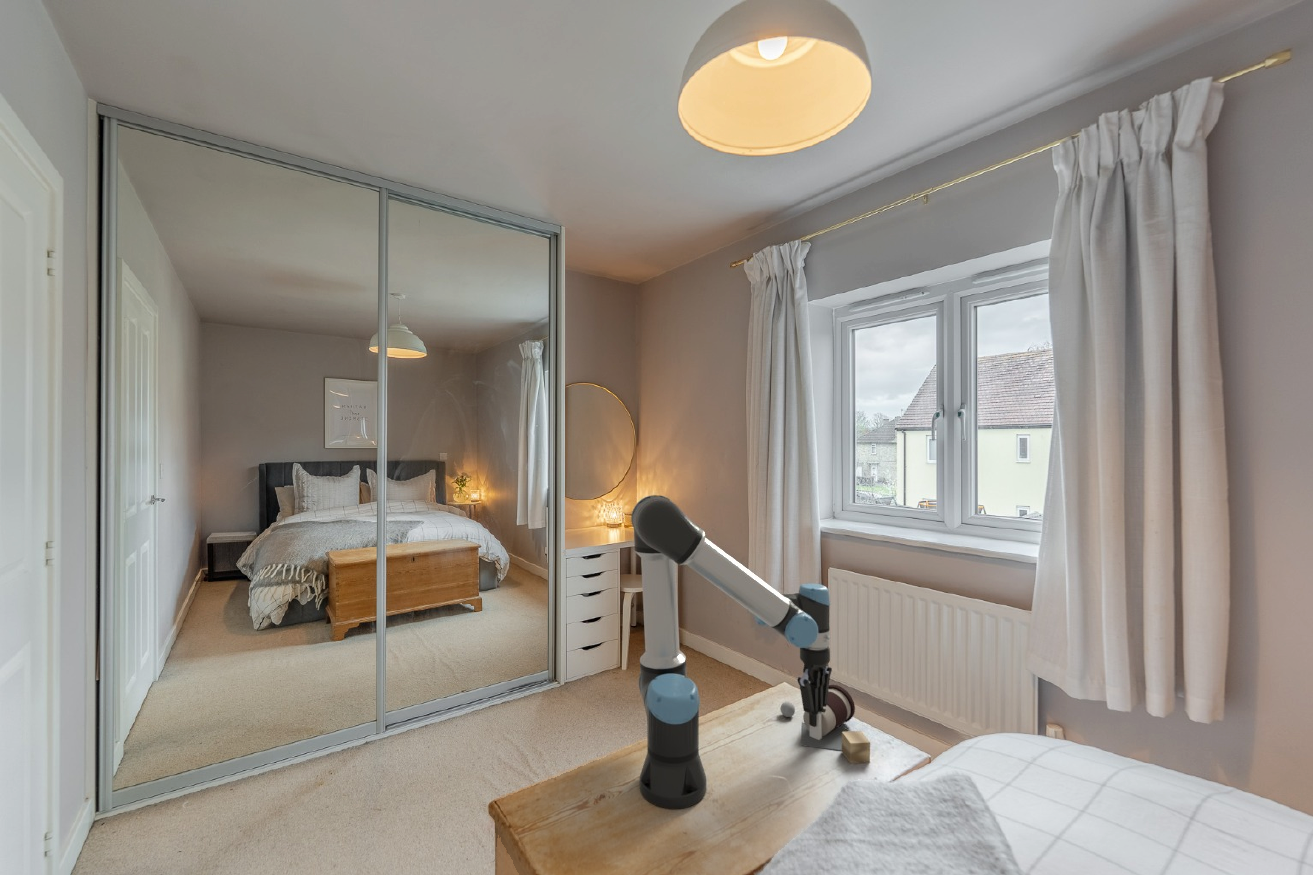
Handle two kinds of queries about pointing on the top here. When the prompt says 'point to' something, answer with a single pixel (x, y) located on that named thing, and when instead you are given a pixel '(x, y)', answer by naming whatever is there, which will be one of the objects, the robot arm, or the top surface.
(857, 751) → the oak block
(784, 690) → the top surface
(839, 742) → the display mat
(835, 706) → the coffee cup
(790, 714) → the grey ball
